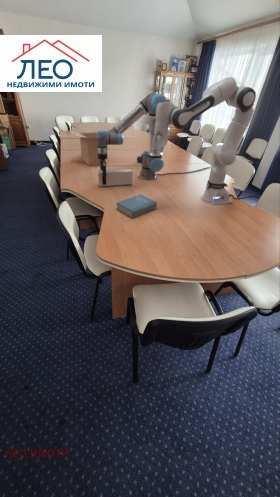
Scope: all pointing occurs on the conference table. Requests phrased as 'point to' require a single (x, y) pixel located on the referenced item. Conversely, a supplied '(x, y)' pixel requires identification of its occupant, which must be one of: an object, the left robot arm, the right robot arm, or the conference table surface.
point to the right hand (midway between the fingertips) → (158, 154)
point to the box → (88, 146)
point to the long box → (116, 177)
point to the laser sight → (139, 159)
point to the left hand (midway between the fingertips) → (103, 182)
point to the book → (136, 205)
